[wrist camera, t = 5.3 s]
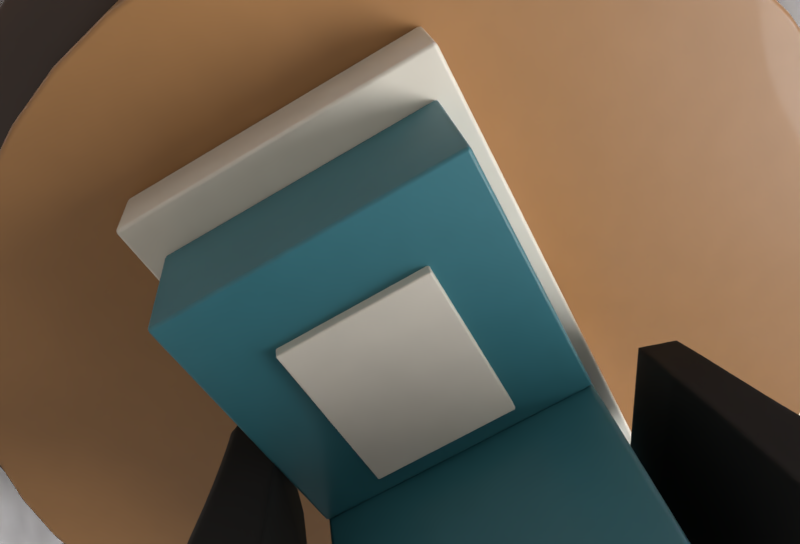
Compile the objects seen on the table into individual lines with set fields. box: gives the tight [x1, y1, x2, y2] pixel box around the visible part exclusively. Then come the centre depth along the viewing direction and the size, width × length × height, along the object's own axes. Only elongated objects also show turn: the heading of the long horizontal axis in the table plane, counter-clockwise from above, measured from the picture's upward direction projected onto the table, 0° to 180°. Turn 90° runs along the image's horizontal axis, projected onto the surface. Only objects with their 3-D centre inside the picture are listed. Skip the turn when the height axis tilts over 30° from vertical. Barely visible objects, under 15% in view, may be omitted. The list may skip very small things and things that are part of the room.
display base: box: [0, 0, 800, 472], centre depth 14 cm, size 17×17×2 cm
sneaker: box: [0, 0, 800, 544], centre depth 11 cm, size 15×15×6 cm
